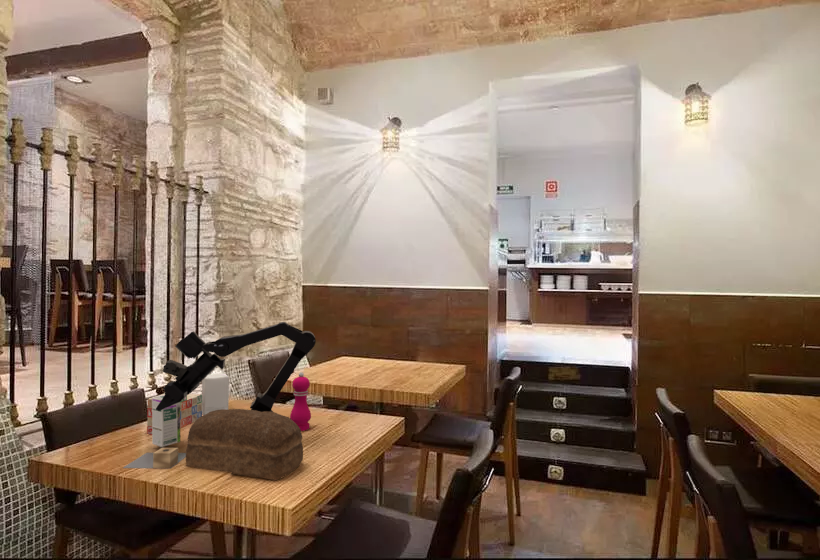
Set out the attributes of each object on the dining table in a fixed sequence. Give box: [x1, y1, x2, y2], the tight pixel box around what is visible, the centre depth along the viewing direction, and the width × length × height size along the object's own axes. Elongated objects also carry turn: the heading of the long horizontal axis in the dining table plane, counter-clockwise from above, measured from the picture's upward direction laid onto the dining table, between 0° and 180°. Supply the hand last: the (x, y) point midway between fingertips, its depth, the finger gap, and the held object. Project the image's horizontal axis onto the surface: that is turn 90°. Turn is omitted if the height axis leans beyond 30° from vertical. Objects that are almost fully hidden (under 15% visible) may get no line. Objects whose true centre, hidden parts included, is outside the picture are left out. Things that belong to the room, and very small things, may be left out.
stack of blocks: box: [146, 392, 203, 436], centre depth 169 cm, size 21×6×12 cm, turn 170°
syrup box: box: [151, 394, 181, 448], centre depth 144 cm, size 6×6×14 cm
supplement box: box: [201, 373, 230, 416], centre depth 186 cm, size 9×9×15 cm
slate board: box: [122, 452, 186, 470], centre depth 134 cm, size 13×12×1 cm
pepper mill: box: [289, 371, 312, 432], centre depth 167 cm, size 7×7×20 cm
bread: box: [185, 408, 304, 481], centre depth 132 cm, size 15×32×16 cm, turn 74°
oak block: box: [152, 447, 179, 469], centre depth 130 cm, size 4×4×4 cm
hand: (161, 406), depth 144 cm, fingers closed on syrup box, 8 cm apart
